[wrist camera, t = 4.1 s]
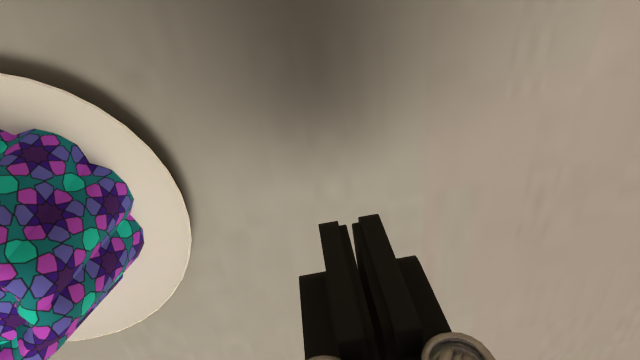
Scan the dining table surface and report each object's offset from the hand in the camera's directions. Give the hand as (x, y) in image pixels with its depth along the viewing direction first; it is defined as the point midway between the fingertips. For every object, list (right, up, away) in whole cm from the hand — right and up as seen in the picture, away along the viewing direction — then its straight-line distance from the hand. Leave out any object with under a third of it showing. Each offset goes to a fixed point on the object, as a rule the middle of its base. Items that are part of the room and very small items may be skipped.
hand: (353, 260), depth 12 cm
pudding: (-12, +1, +5) cm, 13 cm away
